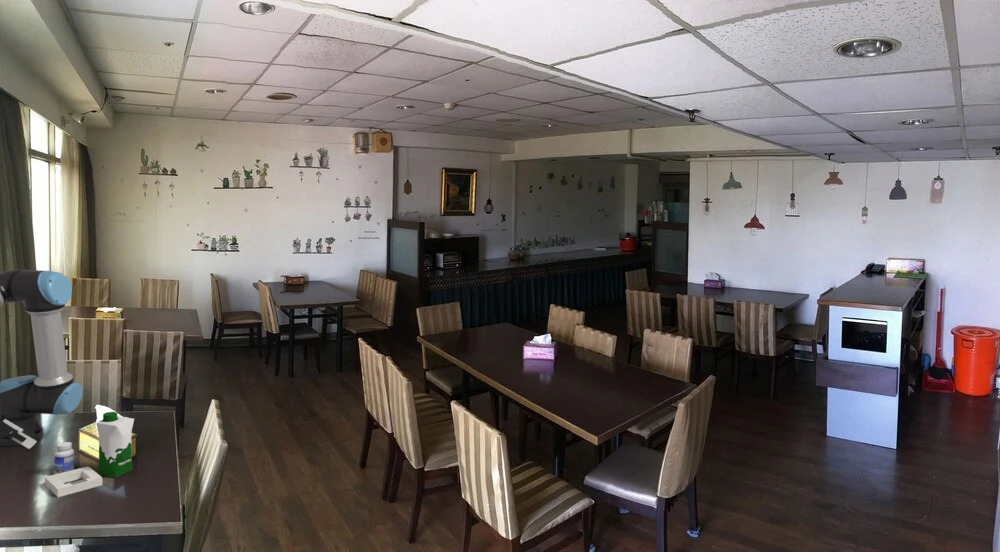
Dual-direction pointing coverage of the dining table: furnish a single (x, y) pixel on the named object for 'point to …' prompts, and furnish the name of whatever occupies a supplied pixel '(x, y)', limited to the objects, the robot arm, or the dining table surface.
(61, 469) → the pill bottle
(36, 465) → the dining table surface
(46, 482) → the plate
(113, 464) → the milk carton
